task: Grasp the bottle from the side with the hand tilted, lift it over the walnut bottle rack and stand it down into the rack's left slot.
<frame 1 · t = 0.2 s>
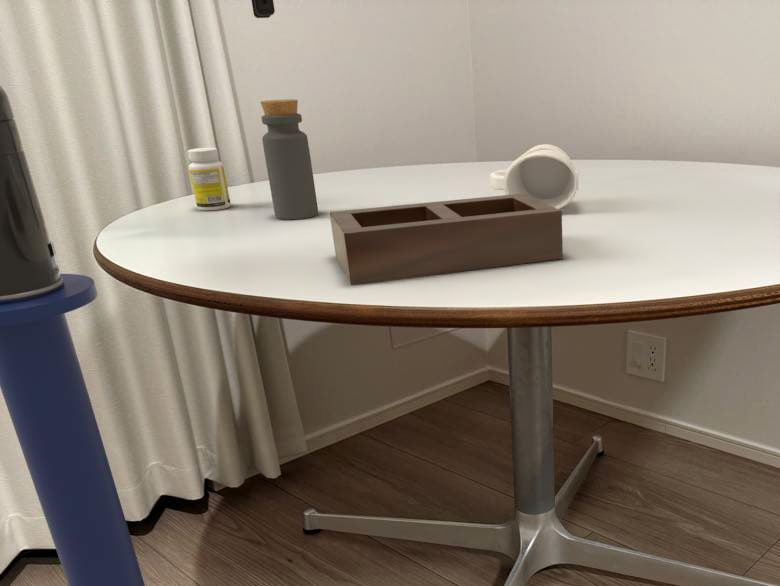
hand: (264, 16, 102), 25 cm above the table, tool pointing down, fingers open, 8 cm apart
bottle rack: (446, 258, 84), on the table
mug: (535, 210, 109), on the table
bottle: (297, 217, 110), on the table
supplement bottle: (214, 209, 118), on the table
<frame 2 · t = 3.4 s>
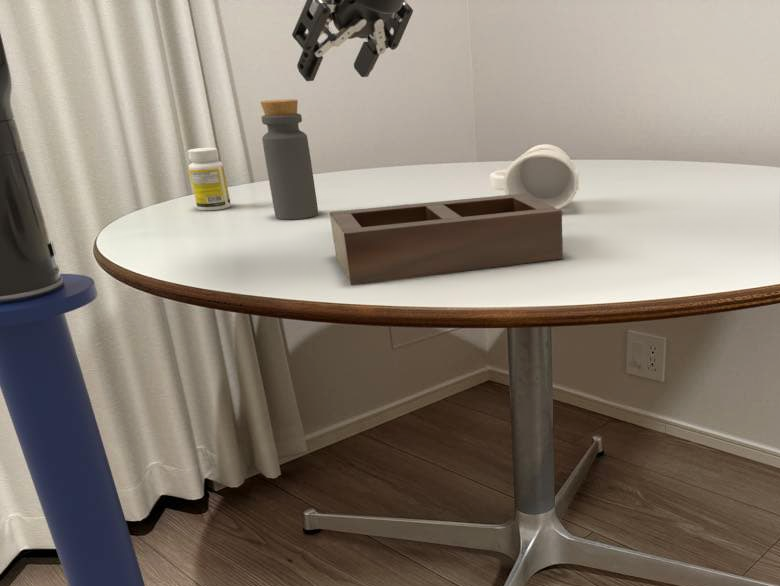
hand: (333, 74, 96), 18 cm above the table, tool tilted 45°, fingers open, 8 cm apart
nothing on the table moved.
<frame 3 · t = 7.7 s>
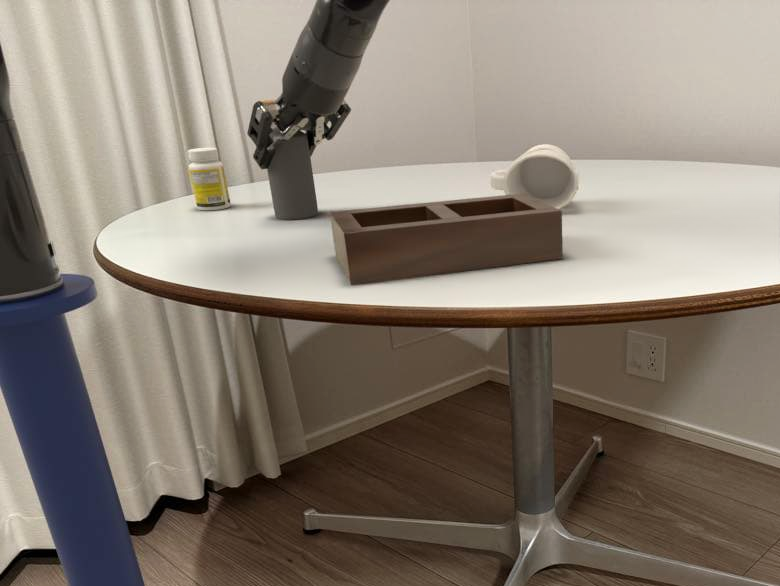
hand: (280, 160, 108), 7 cm above the table, tool tilted 45°, fingers closed on bottle, 6 cm apart
bottle: (297, 217, 110), on the table, touching gripper
everything else where it was.
when the fingers open (7 cm above the table, at t = 19.0 s): bottle stays where it is, resting in bottle rack.
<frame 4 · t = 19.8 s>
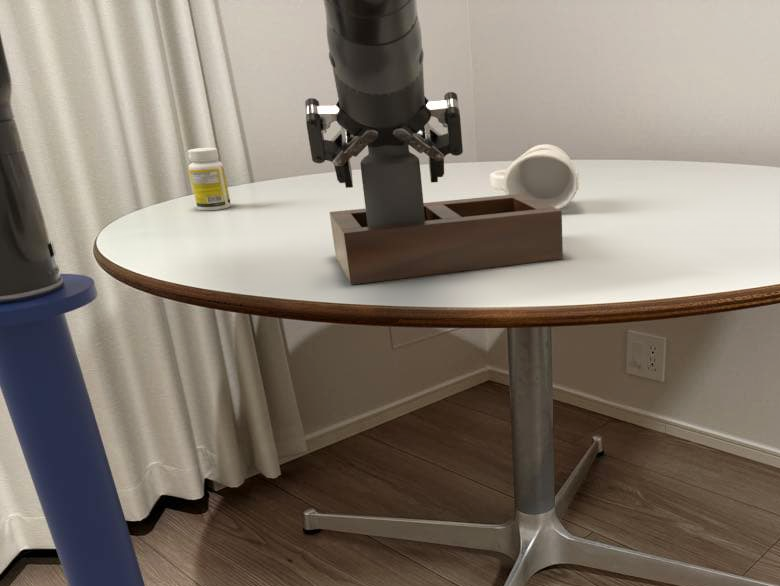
hand: (391, 178, 80), 9 cm above the table, tool tilted 45°, fingers open, 8 cm apart
bottle: (401, 266, 83), resting in bottle rack
everything else where it was.
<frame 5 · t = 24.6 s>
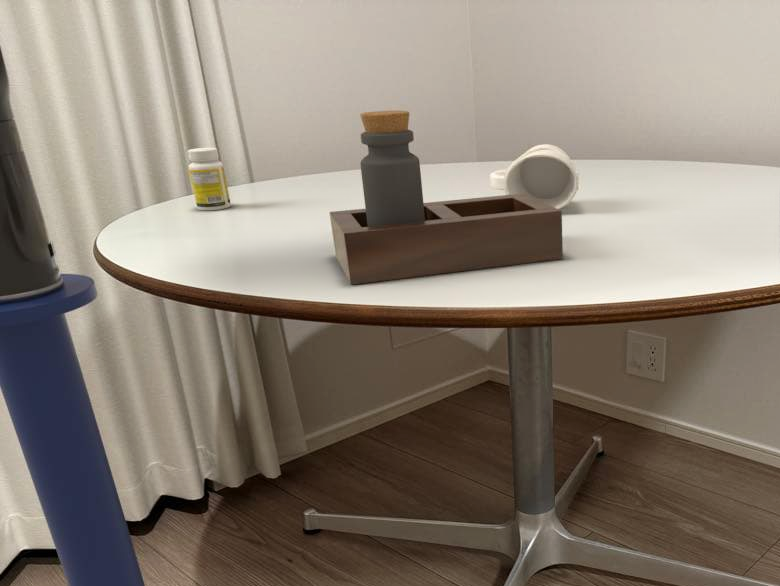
nothing on the table moved.
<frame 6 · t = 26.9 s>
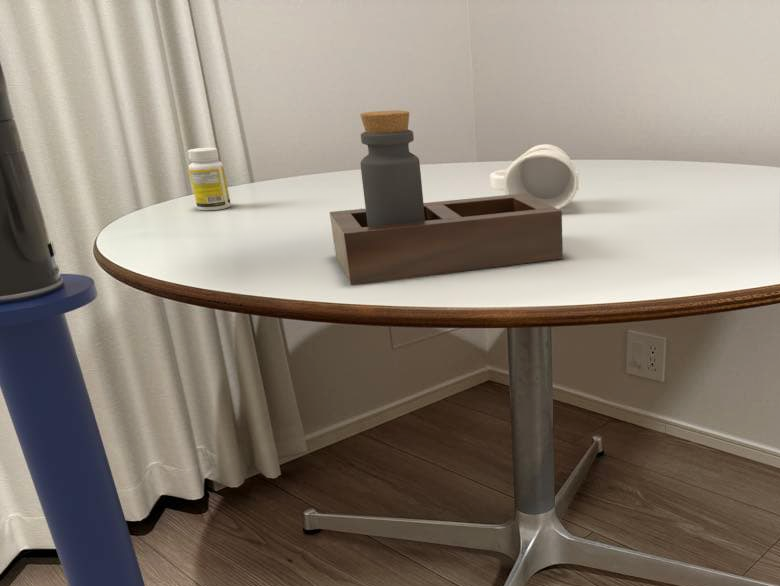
nothing on the table moved.
at the end: bottle 0.2 cm from the target spot in the bottle rack, point 0.0 cm above the bottle rack's base; bottle tilted 0°; the gripper is holding nothing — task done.
